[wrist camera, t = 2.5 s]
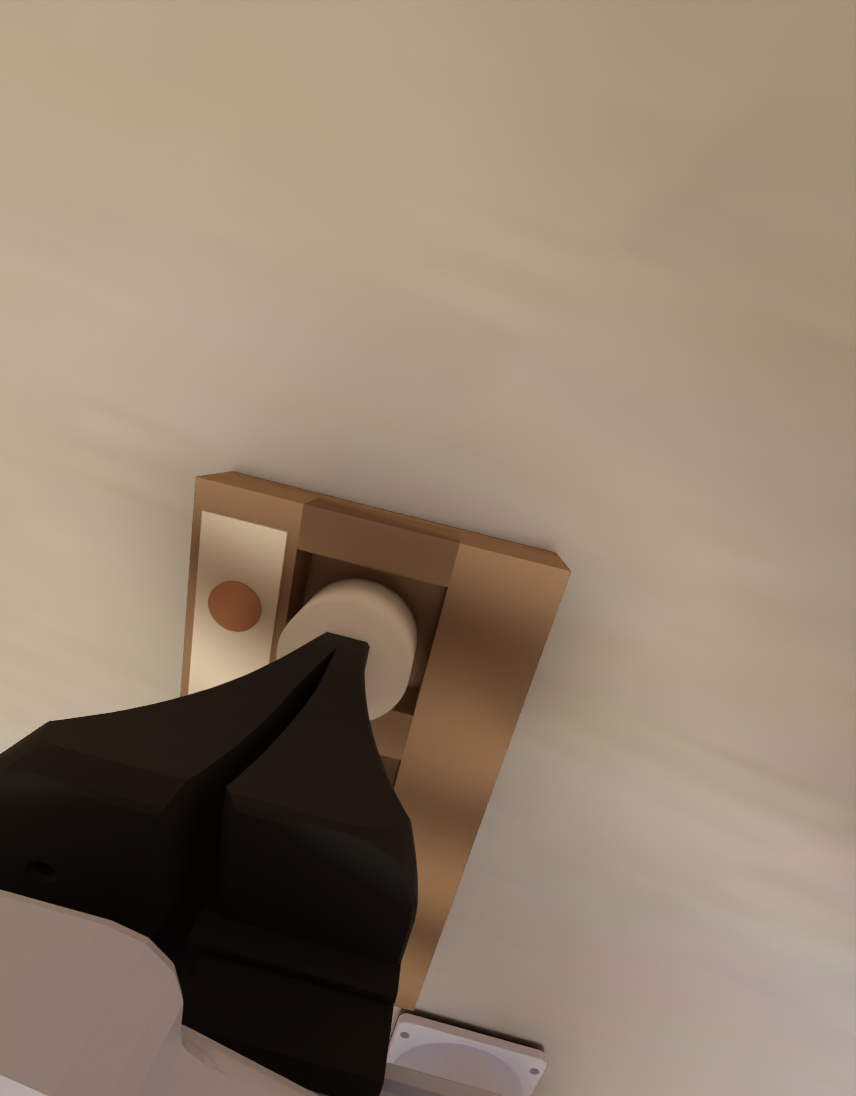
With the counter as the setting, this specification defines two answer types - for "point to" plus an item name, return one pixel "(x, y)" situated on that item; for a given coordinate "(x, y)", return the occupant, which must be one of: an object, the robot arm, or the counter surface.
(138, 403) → the counter surface
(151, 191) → the counter surface
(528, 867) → the counter surface
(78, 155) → the counter surface
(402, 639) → the button
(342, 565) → the board
